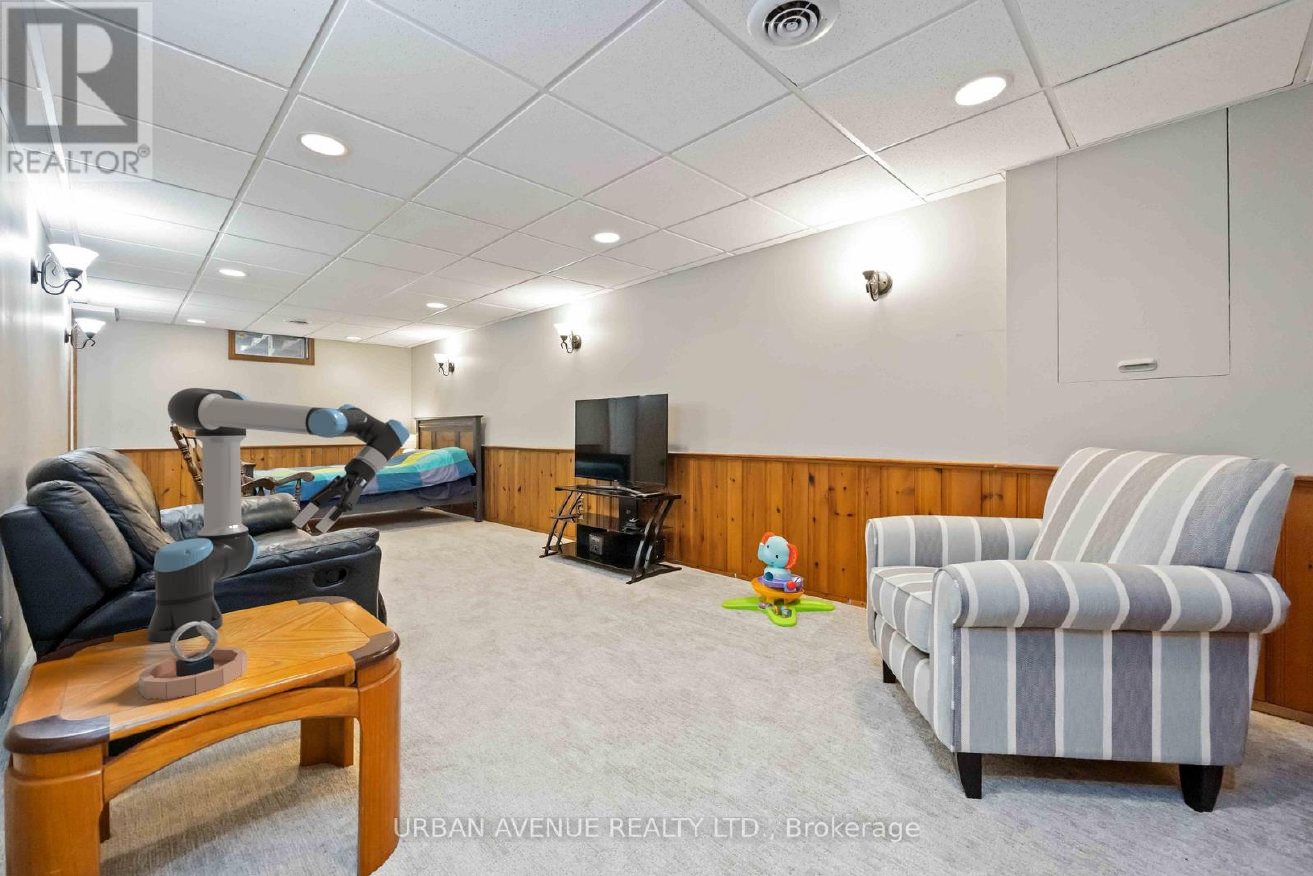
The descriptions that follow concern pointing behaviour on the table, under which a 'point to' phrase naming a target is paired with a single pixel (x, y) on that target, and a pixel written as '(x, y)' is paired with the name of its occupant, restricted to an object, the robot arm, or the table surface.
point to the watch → (198, 661)
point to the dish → (168, 685)
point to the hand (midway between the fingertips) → (307, 527)
